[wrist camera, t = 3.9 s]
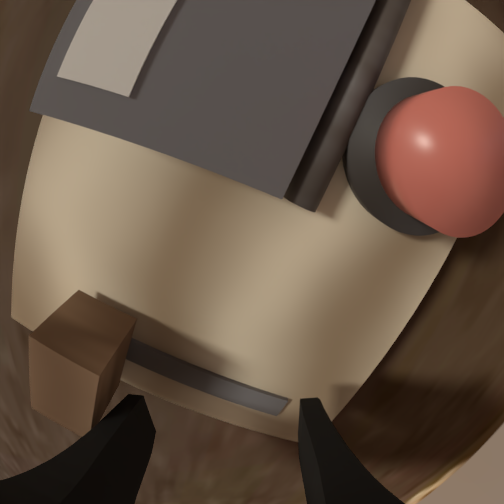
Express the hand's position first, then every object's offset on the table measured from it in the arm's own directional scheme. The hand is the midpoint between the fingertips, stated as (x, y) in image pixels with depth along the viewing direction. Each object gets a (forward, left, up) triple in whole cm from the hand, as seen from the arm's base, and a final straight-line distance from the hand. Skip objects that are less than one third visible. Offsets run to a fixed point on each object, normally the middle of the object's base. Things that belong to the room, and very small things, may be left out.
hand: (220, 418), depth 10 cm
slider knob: (+5, 0, -2) cm, 6 cm away
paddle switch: (+5, -12, 0) cm, 13 cm away
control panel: (+3, -8, -3) cm, 9 cm away
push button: (-2, -11, 0) cm, 11 cm away
